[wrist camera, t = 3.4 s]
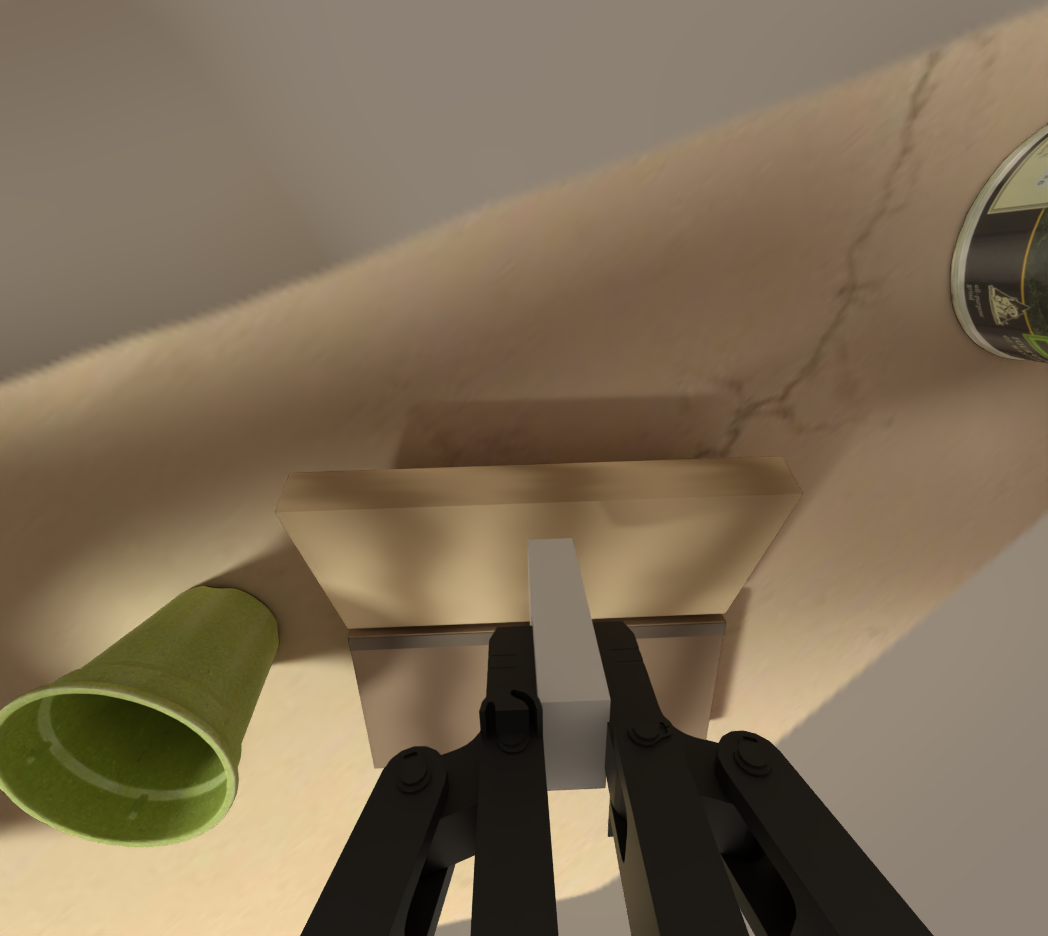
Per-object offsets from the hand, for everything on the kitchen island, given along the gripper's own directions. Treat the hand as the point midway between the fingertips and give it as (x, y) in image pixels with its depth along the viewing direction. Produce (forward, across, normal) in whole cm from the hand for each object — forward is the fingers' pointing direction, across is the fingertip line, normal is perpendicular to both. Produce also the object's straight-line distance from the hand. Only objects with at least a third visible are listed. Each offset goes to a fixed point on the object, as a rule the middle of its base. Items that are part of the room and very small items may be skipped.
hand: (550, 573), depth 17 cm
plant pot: (+9, +18, +9) cm, 22 cm away
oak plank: (+7, 0, +2) cm, 7 cm away
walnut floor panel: (+9, 0, +13) cm, 16 cm away
